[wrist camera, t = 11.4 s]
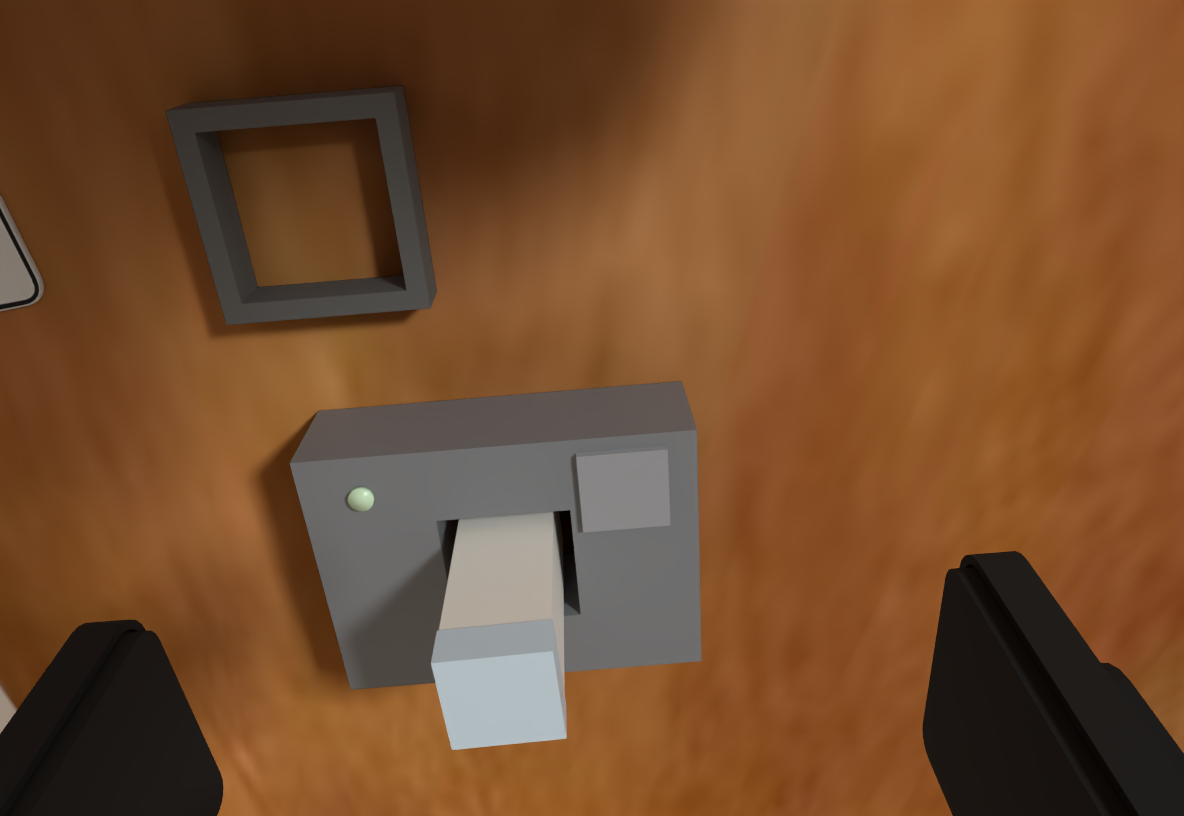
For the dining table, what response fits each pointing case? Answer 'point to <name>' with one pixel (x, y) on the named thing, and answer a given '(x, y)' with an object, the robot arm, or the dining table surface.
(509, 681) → the plug
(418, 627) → the port panel
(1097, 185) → the dining table surface
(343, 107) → the dark square frame
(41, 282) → the smartphone
